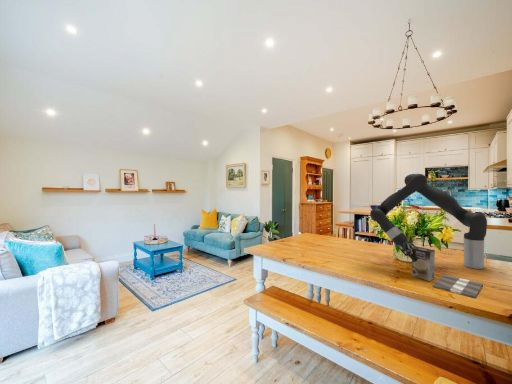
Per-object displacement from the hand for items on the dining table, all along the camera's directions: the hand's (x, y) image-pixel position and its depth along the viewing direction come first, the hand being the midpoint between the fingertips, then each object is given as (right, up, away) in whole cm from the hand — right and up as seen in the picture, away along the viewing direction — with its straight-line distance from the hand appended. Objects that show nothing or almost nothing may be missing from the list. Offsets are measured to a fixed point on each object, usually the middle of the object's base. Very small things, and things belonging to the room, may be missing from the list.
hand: (418, 259), depth 132 cm
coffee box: (+1, -10, -1) cm, 10 cm away
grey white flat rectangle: (+11, -10, -13) cm, 20 cm away
